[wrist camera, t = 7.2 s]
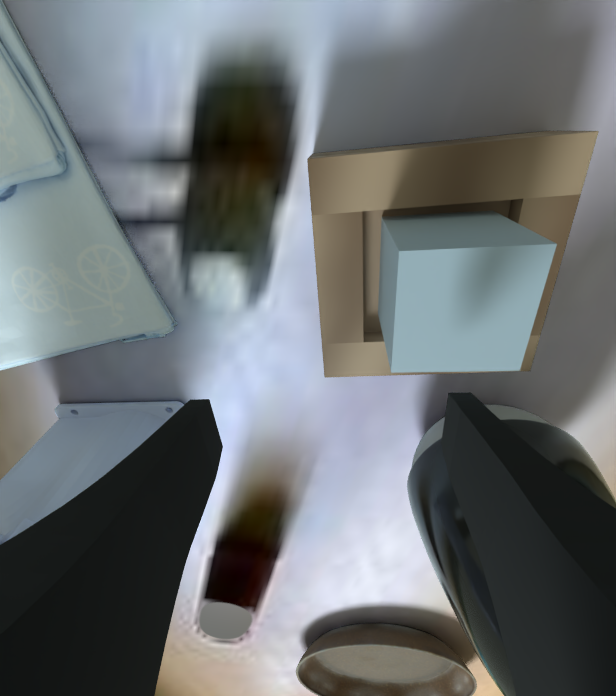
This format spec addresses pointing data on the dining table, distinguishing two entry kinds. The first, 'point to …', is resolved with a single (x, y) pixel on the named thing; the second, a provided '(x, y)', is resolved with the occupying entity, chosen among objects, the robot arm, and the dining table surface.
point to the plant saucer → (383, 664)
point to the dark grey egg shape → (454, 536)
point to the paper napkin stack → (59, 232)
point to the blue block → (459, 290)
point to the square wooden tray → (429, 198)
